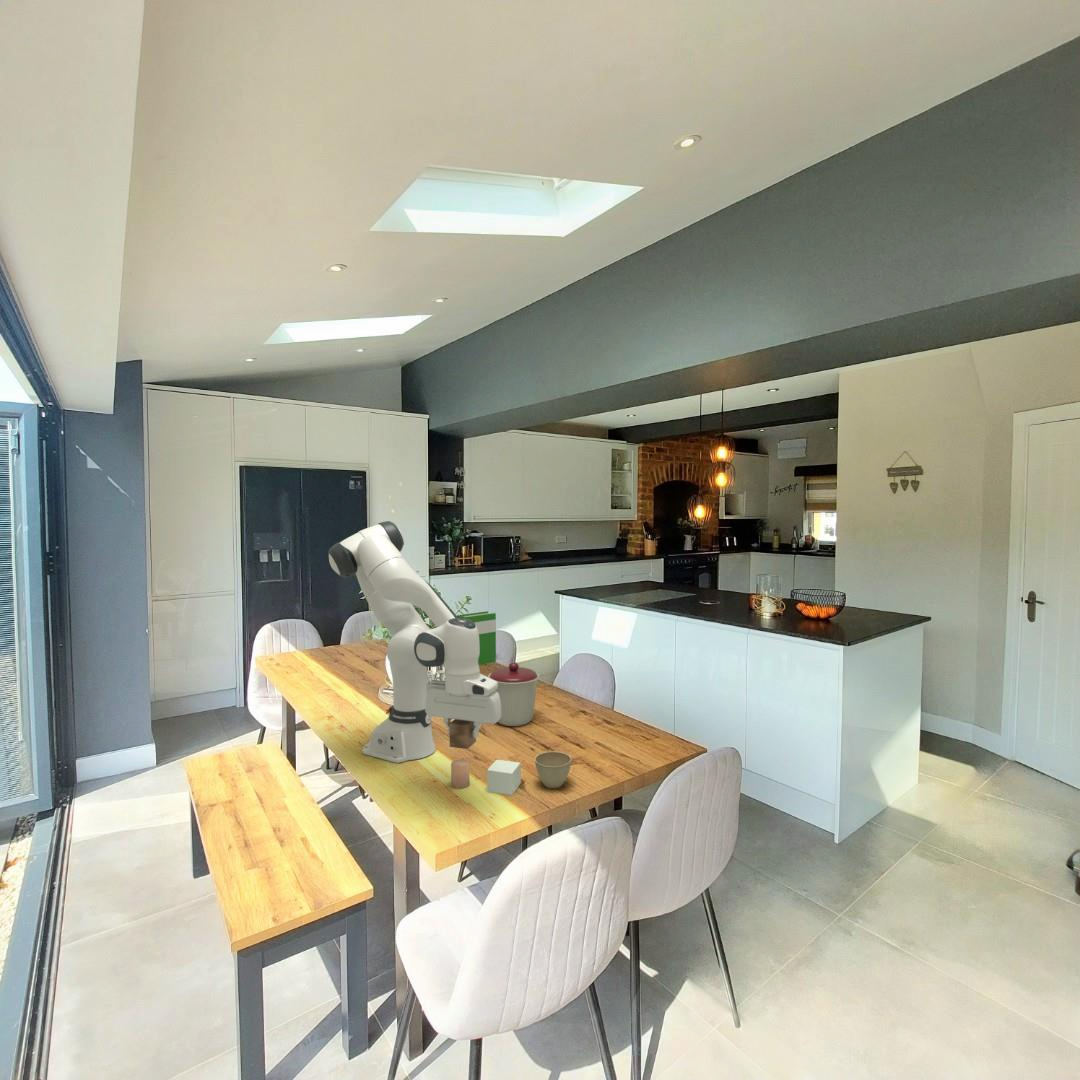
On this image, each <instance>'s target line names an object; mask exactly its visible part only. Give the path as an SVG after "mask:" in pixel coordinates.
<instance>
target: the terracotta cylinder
mask: <svg viewBox="0 0 1080 1080" xmlns="http://www.w3.org/2000/svg"><path fill="white" fill-rule="evenodd" d="M470 766H471V765H470V761H469V760H467V759H464V758H462V759H461V758H459V759H455V760H453V761H451V763H450V775H451V776H450V781H451V782H450V786H451V787H452V788H453V789H456V790H457V789H458V790H463V789H466V788H469V786H470V784H471V782H470V770H471V769H470Z"/></svg>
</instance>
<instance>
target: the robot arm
mask: <svg viewBox="0 0 1080 1080" xmlns="http://www.w3.org/2000/svg"><path fill="white" fill-rule="evenodd" d="M404 545H405V541H404V537H403V533H402V531H401V530H400V528H399V527H398V526H397V524H395V523H394V522H392V521H388V520H387V521H382V522H381V521H380V522H379V523H377V524H375V525H372V526H369V527H367V528H366V527H365V528H364V529H361V530H359V531H357V533H354V534H352V535H351V536H349V537H346V538H345V539H343V540H341V541H339V542H336V543H335V544H334V545H332V546H331V547H330V548H329V550H328V553H327V554H328V561H329V565H330V567H331V569H332V570H333V571H334V573H336V574H337V575H338V576H339V577H342V578H350V577H353V576H356V578H357V581H358V584H359V586H360V589H361V591H362V593H363V595H364V597H365V600H366V601H367V603H368V605H369V607H370V609H371V611H372V612H373V614H374V616H375V618H376V620H377V621H378V622H380V624H382V625H383V627H384V628H385V629H386V630H387V631H388V633H389V634H390V635H391V638H390V640H389V642H388V644H387V648H386V656H387V659H388V662H389V667H390V672H391V673H390V674H391V678H392V687H393V689H392V691H393V692H392V693H393V694H392V695H393V697H392V698H393V705H391V706H390V707H389V708H388V709H386V710H385V715H388V714H389V715H388V717H387V718H386V719H385V720H384V721H382V722H381V723H380V724H378V725H377V726H376V727H375V728H374V729H373V730H372V732H371V734H370V738H369V739H370V740H369V742H367V743H366V744H365V745H364V746H363V748H362V750H361V751H362V752H361V754H363V755H367V756H370V757H374V758H377V759H378V758H379V759H381V760H385V761H388V762H392V763H396V764H399V763H403V762H407V761H413V760H419V759H423V758H426V757H428V756H431V755H432V754H433V753H435V751H436V747H437V746H436V745H435V742H434V741H435V740H434V737H433V731H432V718H433V717H435V718H443V720H442V721H443V724H444V725H445V727H446V729H447V735H449V723H451V722H452V721H451V720H455V719H458V720H466V721H474V725H475V726H476V727H475V729H473V730H471V731H470V734H471V735H470V737H471V738H476V739H477V738H478V737H479V730H480V728H481V727H482V725H483V723H484V724H490V725H491V724H492V725H494V724H496V723H498V722H497V721H498V720H499V719H500V718H501V701H500V696H499V694H498V692H497V691H495V690H496V689H497V688H498V683H497V681H495V680H493V679H490V678H488V676H487V675H484V674H482V673H481V671H480V670H481V669H480V665H478V658H479V655H480V645H479V633H478V629H477V626H476V624H475V623H474V622H473V621H471V620H469V619H465V618H458V617H457V615H456V613H455V612H454V610H452V608H451V607H450V606H449V605H448V603H447V602H446V601H445V600H444V599H443V597H442V596H441V595H440V594H439V593H438V591H437V590H436V589H435V588H434V587H433V586H432V585H431V584H430V583H429V582H428V581H426V580H425V579H424V578H422V577H421V576H420V575H419V574H418V573H417V572H416V571H415V570H414V569H413V568H412V567H411V566H410V565H409V563H408V562H407V560H406V559H405V557H403V554H402V553H401V552H402V551H403V548H404ZM415 606H416V607H418V608H419V609H421V610H422V611H423V612H424V613H425V614H426V616H427V617H428V618H429V619H430V620H431V621H432V623H433V624H434V625H435V626H436V627H435V628H430V627H429V626H428V625H427V624H426V622H425V621H424V620H423V618H422V617H421V615H420V614H419V612H418V611H417V610H416V609H415ZM431 667H432V668H435V667H436V668H437V667H443V668H444V680H443V679H442V680H440V679H439V680H438V679H431V680H430V678H429V674H428V673H429V672H428V668H431ZM449 736H450V735H449Z"/></svg>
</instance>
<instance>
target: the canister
mask: <svg viewBox="0 0 1080 1080" xmlns="http://www.w3.org/2000/svg"><path fill="white" fill-rule="evenodd" d="M487 677H488V678H490V679H493V680H495V681H497V683H498V688H497V689H496V690H495V691H497V692H498V694H499V696H500V701H501V718H500V719H499V720H498V721H497V722H496V723H498V724H501V725H502V726H507V727H519V726H523V725H528V724H529V723H530V722H531V720H532V719H533V717H534V712H535V704H536V696H537V695H536V694H537V687H538V679H539V678H540V674H539V673H538V672H536V671H535V670H533V669H530V668H528V667H520V666H519V664H518V662H510V663H509V664H508V666H506V667H501V668H498V669H495V670H493V671H492V672H490V673H489V674H488V675H487Z"/></svg>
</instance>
